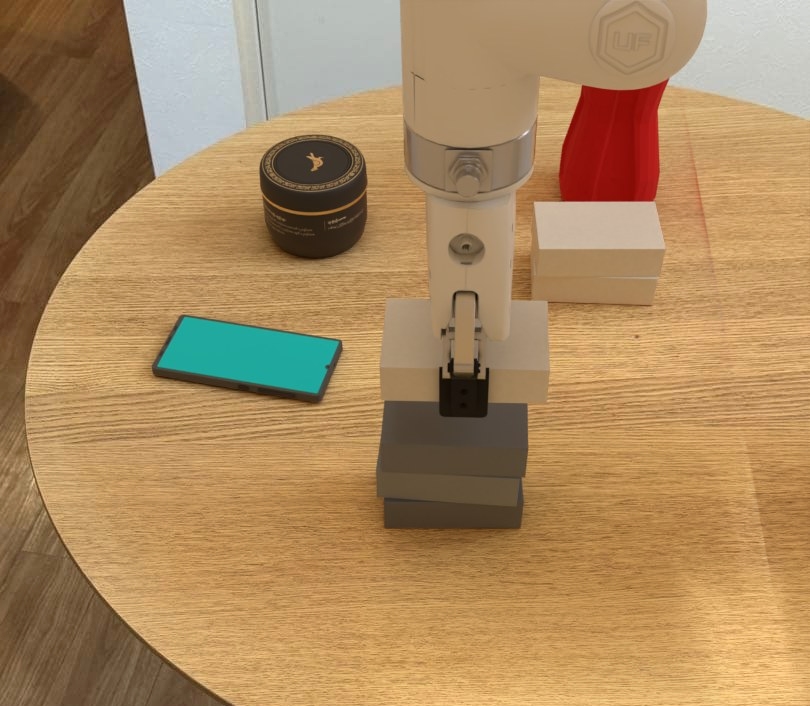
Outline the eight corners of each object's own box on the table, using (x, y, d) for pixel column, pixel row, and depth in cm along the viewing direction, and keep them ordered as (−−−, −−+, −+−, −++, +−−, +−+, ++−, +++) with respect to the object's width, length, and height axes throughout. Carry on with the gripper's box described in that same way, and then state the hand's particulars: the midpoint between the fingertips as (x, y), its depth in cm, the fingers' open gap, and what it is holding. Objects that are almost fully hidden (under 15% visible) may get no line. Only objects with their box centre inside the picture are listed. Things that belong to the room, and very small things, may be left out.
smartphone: (180, 313, 103) (343, 339, 100) (182, 321, 103) (343, 347, 101) (149, 368, 98) (319, 397, 96) (151, 376, 99) (319, 404, 96)
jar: (333, 190, 116) (329, 120, 110) (389, 239, 111) (388, 169, 105) (247, 223, 113) (238, 153, 107) (299, 276, 107) (293, 206, 101)
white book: (544, 334, 81) (547, 300, 79) (546, 404, 76) (550, 370, 74) (387, 331, 81) (386, 297, 79) (381, 400, 77) (379, 367, 75)
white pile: (648, 256, 109) (659, 201, 105) (655, 307, 104) (666, 252, 100) (528, 252, 110) (533, 197, 105) (529, 303, 105) (534, 248, 100)
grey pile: (520, 474, 91) (529, 391, 84) (520, 534, 88) (530, 451, 81) (382, 469, 92) (380, 385, 85) (377, 528, 88) (374, 445, 81)
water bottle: (643, 161, 119) (689, -96, 100) (656, 225, 112) (708, -38, 93) (554, 160, 119) (582, -96, 100) (561, 224, 112) (593, -39, 93)
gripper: (538, 235, 60) (520, 468, 74) (533, 64, 71) (518, 294, 85) (394, 233, 60) (403, 465, 74) (411, 63, 71) (416, 293, 85)
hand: (464, 373), depth 79 cm, fingers closed on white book, 7 cm apart
